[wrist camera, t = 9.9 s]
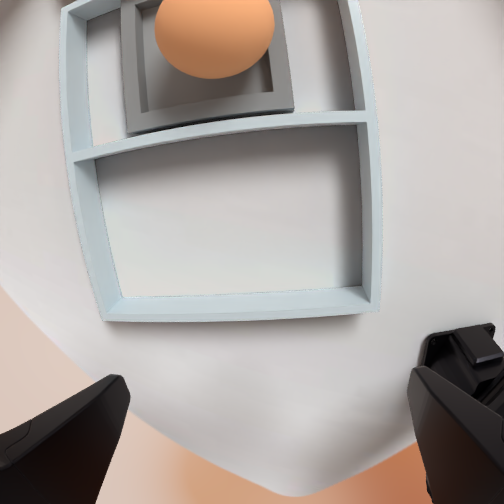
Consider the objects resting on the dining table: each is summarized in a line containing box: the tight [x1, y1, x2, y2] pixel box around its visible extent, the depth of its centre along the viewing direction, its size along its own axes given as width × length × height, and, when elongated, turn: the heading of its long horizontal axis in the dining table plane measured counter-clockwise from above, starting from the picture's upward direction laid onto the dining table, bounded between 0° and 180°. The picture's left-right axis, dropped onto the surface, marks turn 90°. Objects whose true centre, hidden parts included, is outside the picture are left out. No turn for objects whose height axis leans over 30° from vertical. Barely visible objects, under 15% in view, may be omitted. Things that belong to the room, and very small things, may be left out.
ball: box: [154, 0, 275, 79], centre depth 13 cm, size 6×6×6 cm
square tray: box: [121, 0, 294, 134], centre depth 16 cm, size 10×10×2 cm
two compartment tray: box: [59, 0, 383, 322], centre depth 17 cm, size 22×18×2 cm
